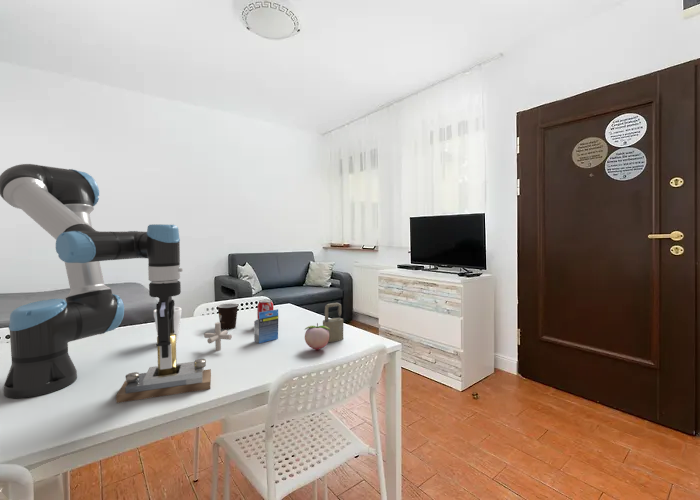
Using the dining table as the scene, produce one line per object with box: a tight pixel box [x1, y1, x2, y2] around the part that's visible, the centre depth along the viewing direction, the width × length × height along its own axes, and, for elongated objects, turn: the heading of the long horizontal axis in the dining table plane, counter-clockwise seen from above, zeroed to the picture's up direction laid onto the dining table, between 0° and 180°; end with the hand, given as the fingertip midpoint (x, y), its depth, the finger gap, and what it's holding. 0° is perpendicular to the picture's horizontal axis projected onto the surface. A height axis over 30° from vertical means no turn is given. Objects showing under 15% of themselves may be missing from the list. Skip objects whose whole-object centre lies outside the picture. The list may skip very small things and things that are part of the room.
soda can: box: [256, 298, 274, 320], centre depth 153 cm, size 7×7×12 cm
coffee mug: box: [217, 303, 239, 331], centre depth 150 cm, size 12×9×10 cm
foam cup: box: [153, 306, 183, 344], centre depth 130 cm, size 10×9×13 cm
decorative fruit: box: [303, 322, 330, 351], centre depth 123 cm, size 9×8×10 cm
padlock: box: [322, 302, 344, 343], centre depth 135 cm, size 4×8×15 cm, turn 122°
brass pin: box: [156, 334, 177, 376], centre depth 93 cm, size 4×4×12 cm
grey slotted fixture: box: [125, 358, 207, 394], centre depth 93 cm, size 20×9×5 cm, turn 111°
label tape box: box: [253, 308, 279, 344], centre depth 134 cm, size 9×4×12 cm, turn 135°
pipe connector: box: [203, 321, 232, 352], centre depth 123 cm, size 10×10×10 cm
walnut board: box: [115, 368, 212, 404], centre depth 93 cm, size 22×9×2 cm, turn 111°
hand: (167, 364), depth 93 cm, fingers closed on brass pin, 4 cm apart
